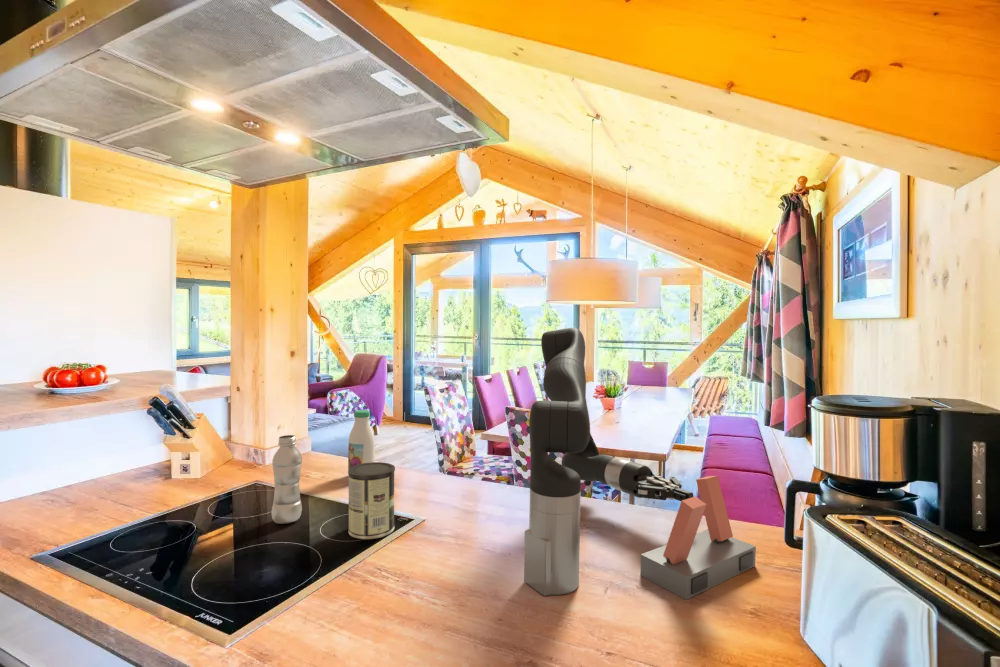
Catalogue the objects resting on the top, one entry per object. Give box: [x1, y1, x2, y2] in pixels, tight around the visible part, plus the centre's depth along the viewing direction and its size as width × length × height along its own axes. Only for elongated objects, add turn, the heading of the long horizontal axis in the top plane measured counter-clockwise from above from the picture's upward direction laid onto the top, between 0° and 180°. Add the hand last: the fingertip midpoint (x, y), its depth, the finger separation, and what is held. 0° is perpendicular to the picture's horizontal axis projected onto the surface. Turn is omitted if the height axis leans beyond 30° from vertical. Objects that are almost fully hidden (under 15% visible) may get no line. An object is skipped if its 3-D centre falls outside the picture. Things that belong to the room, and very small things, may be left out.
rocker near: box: [663, 496, 707, 565], centre depth 91 cm, size 4×3×12 cm, turn 124°
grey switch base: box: [640, 528, 757, 601], centre depth 97 cm, size 22×10×4 cm, turn 124°
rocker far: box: [695, 475, 734, 543], centre depth 103 cm, size 4×2×12 cm, turn 124°
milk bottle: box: [347, 409, 376, 477], centre depth 152 cm, size 8×8×20 cm
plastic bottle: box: [271, 434, 303, 525], centre depth 118 cm, size 6×7×20 cm
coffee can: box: [347, 461, 396, 540], centre depth 114 cm, size 10×10×14 cm
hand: (691, 498), depth 107 cm, fingers closed
